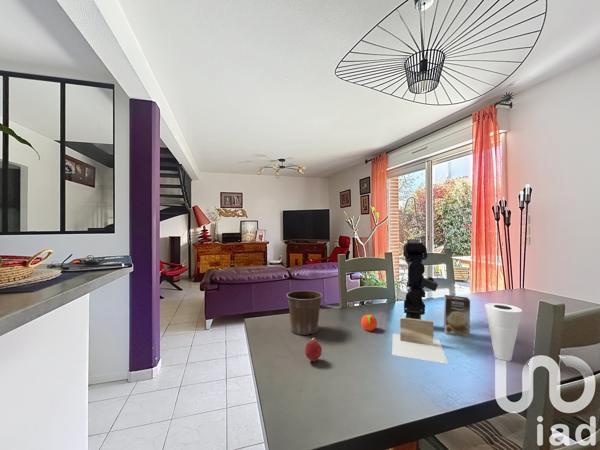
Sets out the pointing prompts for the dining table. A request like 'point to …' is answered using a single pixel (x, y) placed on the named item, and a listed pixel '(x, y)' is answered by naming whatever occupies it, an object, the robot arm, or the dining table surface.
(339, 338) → the dining table surface
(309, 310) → the plant pot
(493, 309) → the cup
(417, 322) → the tile
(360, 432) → the dining table surface
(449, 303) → the coffee box
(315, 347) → the onion
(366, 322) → the clementine
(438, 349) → the mat
